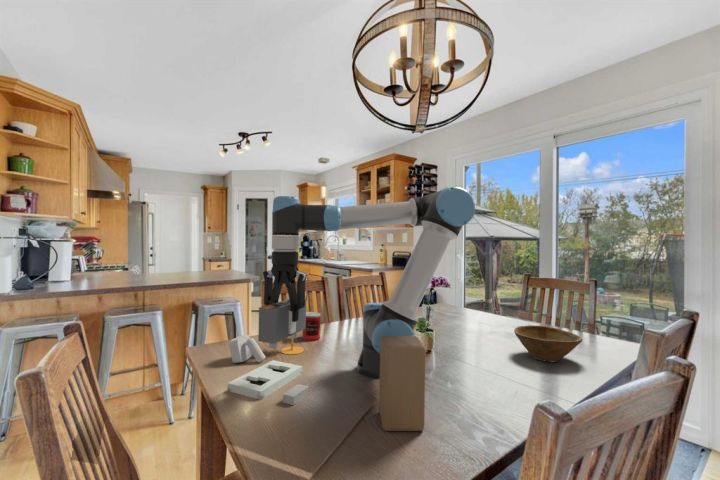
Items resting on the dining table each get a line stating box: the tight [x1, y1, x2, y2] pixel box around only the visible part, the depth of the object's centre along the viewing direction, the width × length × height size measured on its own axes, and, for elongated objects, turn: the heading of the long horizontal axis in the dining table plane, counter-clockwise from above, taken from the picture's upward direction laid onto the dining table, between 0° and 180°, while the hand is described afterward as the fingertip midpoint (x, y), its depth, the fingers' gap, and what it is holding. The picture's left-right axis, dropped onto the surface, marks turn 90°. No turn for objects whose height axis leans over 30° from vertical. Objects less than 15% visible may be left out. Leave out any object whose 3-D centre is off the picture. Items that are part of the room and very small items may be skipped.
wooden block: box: [378, 335, 427, 432], centre depth 83 cm, size 10×10×20 cm
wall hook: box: [228, 334, 267, 364], centre depth 121 cm, size 8×10×10 cm
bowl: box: [513, 324, 583, 362], centre depth 129 cm, size 22×23×10 cm
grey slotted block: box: [257, 298, 307, 350], centre depth 97 cm, size 5×16×12 cm, turn 158°
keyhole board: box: [227, 359, 304, 401], centre depth 103 cm, size 12×20×3 cm, turn 156°
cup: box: [280, 338, 305, 356], centre depth 133 cm, size 9×9×16 cm
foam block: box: [282, 383, 310, 406], centre depth 93 cm, size 4×7×3 cm, turn 156°
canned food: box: [302, 311, 321, 342], centre depth 149 cm, size 8×8×11 cm
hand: (283, 331), depth 97 cm, fingers closed on grey slotted block, 5 cm apart
